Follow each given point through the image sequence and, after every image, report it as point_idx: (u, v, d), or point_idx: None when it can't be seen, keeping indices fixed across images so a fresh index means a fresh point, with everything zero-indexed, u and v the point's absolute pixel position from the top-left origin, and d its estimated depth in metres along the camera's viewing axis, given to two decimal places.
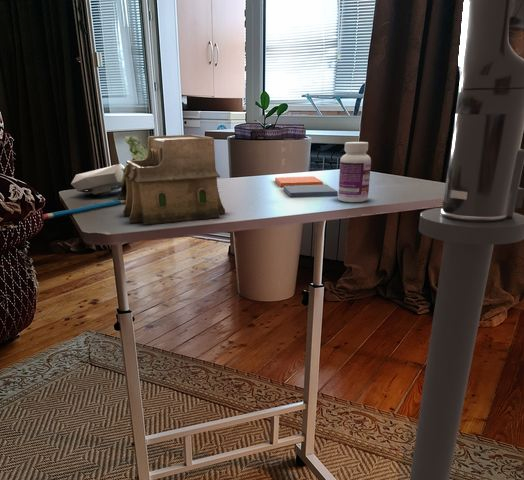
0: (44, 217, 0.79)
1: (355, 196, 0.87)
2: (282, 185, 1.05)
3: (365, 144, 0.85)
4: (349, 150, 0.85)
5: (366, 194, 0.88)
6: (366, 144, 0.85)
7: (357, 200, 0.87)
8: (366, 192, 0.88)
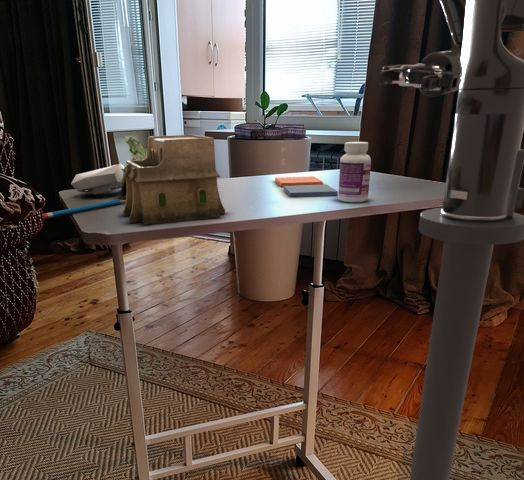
0: (44, 216, 0.79)
1: (355, 196, 0.87)
2: (282, 185, 1.05)
3: (365, 144, 0.85)
4: (349, 150, 0.85)
5: (366, 194, 0.88)
6: (366, 144, 0.85)
7: (357, 200, 0.87)
8: (366, 192, 0.88)
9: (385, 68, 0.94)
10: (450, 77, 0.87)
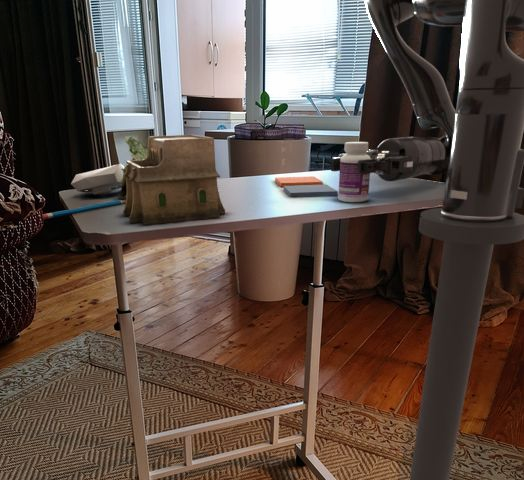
0: (43, 217, 0.79)
1: (355, 196, 0.87)
2: (282, 185, 1.05)
3: (365, 144, 0.85)
4: (349, 150, 0.85)
5: (366, 194, 0.88)
6: (366, 144, 0.85)
7: (357, 200, 0.87)
8: (366, 192, 0.88)
9: (341, 156, 0.91)
10: (387, 160, 0.84)
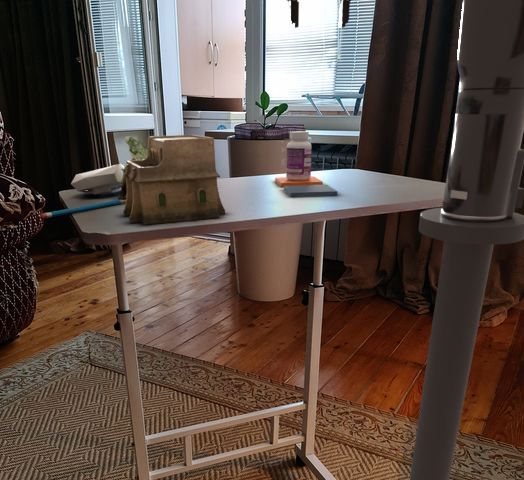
0: (43, 216, 0.79)
1: (299, 175, 1.07)
2: (282, 185, 1.05)
3: (305, 133, 1.04)
4: (293, 138, 1.05)
5: (308, 174, 1.08)
6: (306, 133, 1.04)
7: (300, 179, 1.07)
8: (308, 172, 1.07)
9: None
10: None
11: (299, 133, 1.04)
